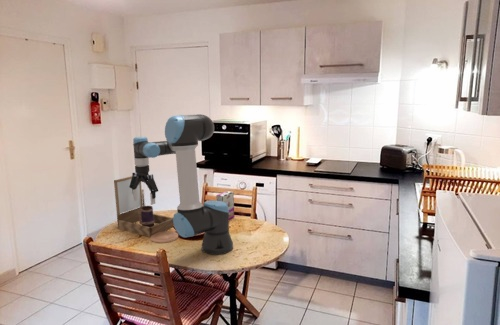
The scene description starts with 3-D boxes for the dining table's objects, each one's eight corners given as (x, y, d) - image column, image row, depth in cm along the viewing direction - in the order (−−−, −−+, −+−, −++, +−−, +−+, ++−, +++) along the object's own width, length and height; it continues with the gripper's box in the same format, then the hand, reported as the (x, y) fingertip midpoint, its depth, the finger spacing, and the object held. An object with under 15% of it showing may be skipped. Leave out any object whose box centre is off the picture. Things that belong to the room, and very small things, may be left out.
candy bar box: (228, 216, 217) (227, 190, 214) (234, 217, 215) (234, 191, 212) (216, 221, 208) (215, 194, 205) (223, 223, 205) (222, 195, 203)
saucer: (183, 235, 187) (183, 233, 187) (164, 245, 175) (164, 243, 175) (164, 231, 194) (164, 229, 194) (145, 239, 182) (144, 237, 182)
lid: (142, 206, 212) (140, 174, 208) (118, 215, 197) (115, 180, 193) (141, 206, 213) (139, 174, 209) (116, 215, 197) (113, 180, 194)
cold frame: (174, 226, 201) (172, 194, 197) (150, 237, 186) (148, 202, 182) (142, 219, 214) (140, 189, 211) (117, 228, 199) (115, 196, 195)
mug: (147, 223, 206) (146, 204, 204) (157, 225, 203) (156, 205, 201) (135, 229, 197) (133, 209, 195) (144, 231, 194) (143, 210, 192)
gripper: (163, 166, 190) (165, 203, 194) (131, 161, 203) (134, 197, 207) (153, 168, 184) (155, 207, 188) (121, 164, 197) (123, 200, 200)
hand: (144, 202), depth 197 cm, fingers open, 13 cm apart
